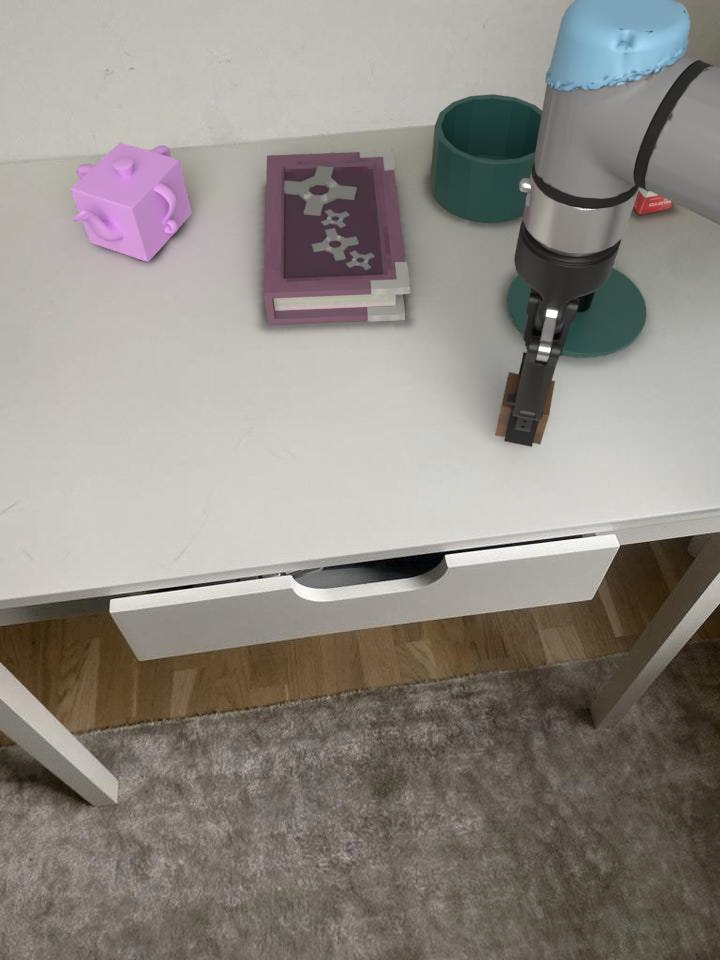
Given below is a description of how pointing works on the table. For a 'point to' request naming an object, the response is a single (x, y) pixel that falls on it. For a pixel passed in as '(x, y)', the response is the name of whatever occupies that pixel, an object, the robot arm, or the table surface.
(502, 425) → the block
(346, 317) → the book
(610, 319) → the lid
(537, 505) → the table surface
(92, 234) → the teapot
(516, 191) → the tin
